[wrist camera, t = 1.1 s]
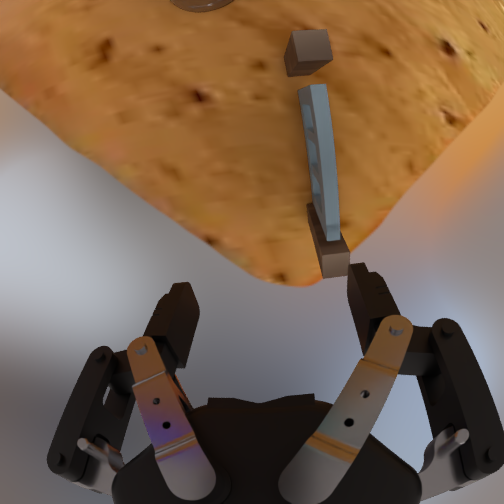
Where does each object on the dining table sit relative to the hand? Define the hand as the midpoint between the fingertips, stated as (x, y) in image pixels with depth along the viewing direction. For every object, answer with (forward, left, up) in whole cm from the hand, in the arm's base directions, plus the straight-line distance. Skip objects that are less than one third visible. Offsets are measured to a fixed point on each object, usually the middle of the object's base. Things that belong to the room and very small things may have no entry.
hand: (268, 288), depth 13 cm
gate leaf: (-3, +5, -20) cm, 21 cm away
